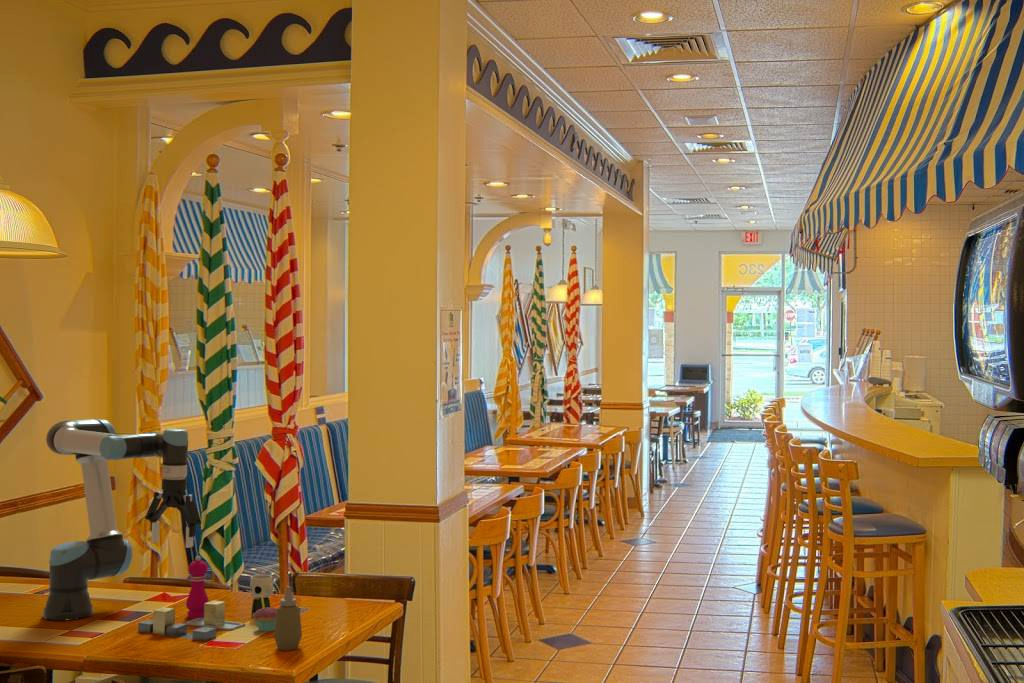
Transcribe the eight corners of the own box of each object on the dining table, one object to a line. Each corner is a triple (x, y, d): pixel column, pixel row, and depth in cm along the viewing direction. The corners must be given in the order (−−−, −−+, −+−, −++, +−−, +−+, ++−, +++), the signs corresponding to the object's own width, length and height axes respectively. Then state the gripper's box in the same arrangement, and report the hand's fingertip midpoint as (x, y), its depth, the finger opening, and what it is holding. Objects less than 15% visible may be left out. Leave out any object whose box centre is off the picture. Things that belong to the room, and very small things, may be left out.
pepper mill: (202, 620, 344) (202, 558, 344) (181, 618, 345) (182, 557, 346) (212, 615, 351) (213, 554, 351) (192, 613, 352) (193, 553, 353)
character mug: (241, 615, 350) (242, 576, 351) (258, 611, 356) (259, 572, 356) (263, 620, 344) (264, 580, 344) (280, 616, 350) (281, 577, 350)
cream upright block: (153, 633, 326) (153, 610, 326) (163, 629, 330) (163, 607, 330) (164, 634, 324) (164, 611, 324) (174, 631, 328) (175, 608, 328)
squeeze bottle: (275, 644, 316) (276, 584, 316) (303, 644, 316) (304, 583, 316) (271, 652, 307) (272, 589, 308) (300, 651, 308) (300, 589, 308)
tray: (184, 625, 337) (184, 622, 337) (199, 620, 343) (199, 617, 343) (230, 631, 330) (230, 628, 330) (244, 626, 336) (244, 623, 336)
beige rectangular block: (213, 622, 339) (213, 600, 339) (224, 623, 337) (225, 601, 338) (204, 625, 335) (204, 603, 335) (215, 627, 333) (215, 604, 333)
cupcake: (256, 635, 326) (257, 596, 326) (250, 628, 334) (250, 590, 334) (284, 632, 330) (284, 593, 330) (277, 625, 338) (277, 588, 338)
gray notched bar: (138, 632, 328) (138, 622, 328) (149, 628, 333) (149, 619, 333) (204, 642, 317) (205, 632, 317) (216, 638, 322) (216, 628, 322)
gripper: (135, 475, 338) (132, 542, 338) (198, 482, 329) (196, 551, 329) (151, 473, 345) (149, 538, 345) (214, 480, 336) (211, 547, 336)
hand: (172, 544), depth 337 cm, fingers open, 13 cm apart
